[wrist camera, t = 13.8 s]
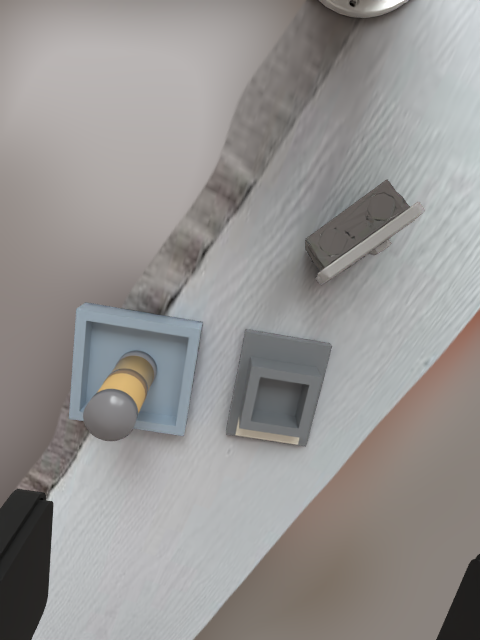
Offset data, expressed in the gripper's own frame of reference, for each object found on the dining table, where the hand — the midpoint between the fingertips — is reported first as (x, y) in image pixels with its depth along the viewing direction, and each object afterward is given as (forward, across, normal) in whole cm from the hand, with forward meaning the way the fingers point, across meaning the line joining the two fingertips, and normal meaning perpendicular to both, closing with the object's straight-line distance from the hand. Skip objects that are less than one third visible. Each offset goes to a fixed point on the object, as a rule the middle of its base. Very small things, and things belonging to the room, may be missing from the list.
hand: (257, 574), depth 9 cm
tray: (+33, +9, +11) cm, 36 cm away
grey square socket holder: (+33, -6, +11) cm, 36 cm away
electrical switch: (+34, -9, -6) cm, 35 cm away
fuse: (+33, +9, +11) cm, 36 cm away
